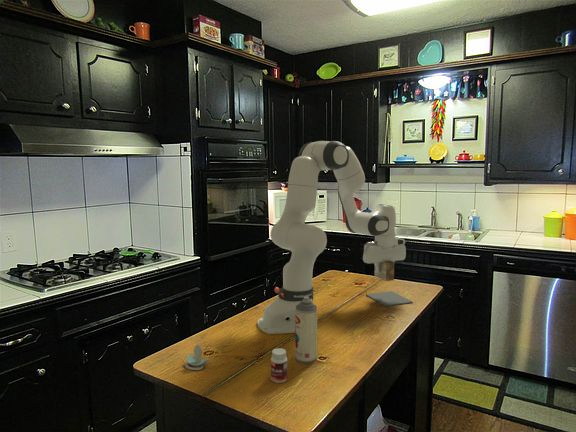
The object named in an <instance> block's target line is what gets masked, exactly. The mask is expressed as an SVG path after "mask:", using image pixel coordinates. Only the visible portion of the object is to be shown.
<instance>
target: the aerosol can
mask: <svg viewBox="0 0 576 432" xmlns="http://www.w3.org/2000/svg"><path fill="white" fill-rule="evenodd" d="M294 340H295V341H294V346H295V347H294V359H295V361H296V362H298V363H301V364H305V365H307V364H313V363H314V362H315V363H316V361H317V359H318V354H317V353H318V351H317V350H318V306H317V305H316V304H315V303H313V301H312V302H311V301H310V300H309V297H307V296H305V297H304V300H302V301H301V302H300V303H299V304H298V305H297V306H296V309H295V333H294Z"/></svg>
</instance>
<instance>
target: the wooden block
mask: <svg viewBox="0 0 576 432" xmlns="http://www.w3.org/2000/svg"><path fill="white" fill-rule="evenodd" d="M378 266H379V267H380V268H381V272H376V267H375V266H374V277H377V278H378V279H381V280H383V281H384V282H389V281H394V280H395V263H394V262H392V261H385V262H379V265H378Z"/></svg>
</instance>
